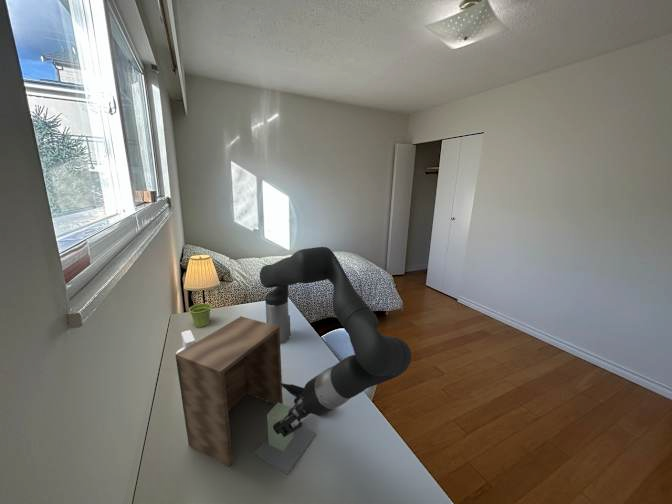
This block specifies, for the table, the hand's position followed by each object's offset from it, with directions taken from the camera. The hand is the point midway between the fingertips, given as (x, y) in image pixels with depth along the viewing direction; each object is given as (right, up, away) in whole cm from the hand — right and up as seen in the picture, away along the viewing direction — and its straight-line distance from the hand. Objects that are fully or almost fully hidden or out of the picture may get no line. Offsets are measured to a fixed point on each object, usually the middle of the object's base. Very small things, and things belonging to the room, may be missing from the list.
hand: (286, 415), depth 66 cm
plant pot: (-51, +5, +63) cm, 81 cm away
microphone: (+3, -6, +20) cm, 21 cm away
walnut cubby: (-14, -8, +10) cm, 19 cm away
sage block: (-2, -9, +4) cm, 10 cm away
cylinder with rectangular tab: (-41, -2, +34) cm, 53 cm away
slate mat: (-1, -10, +4) cm, 10 cm away
